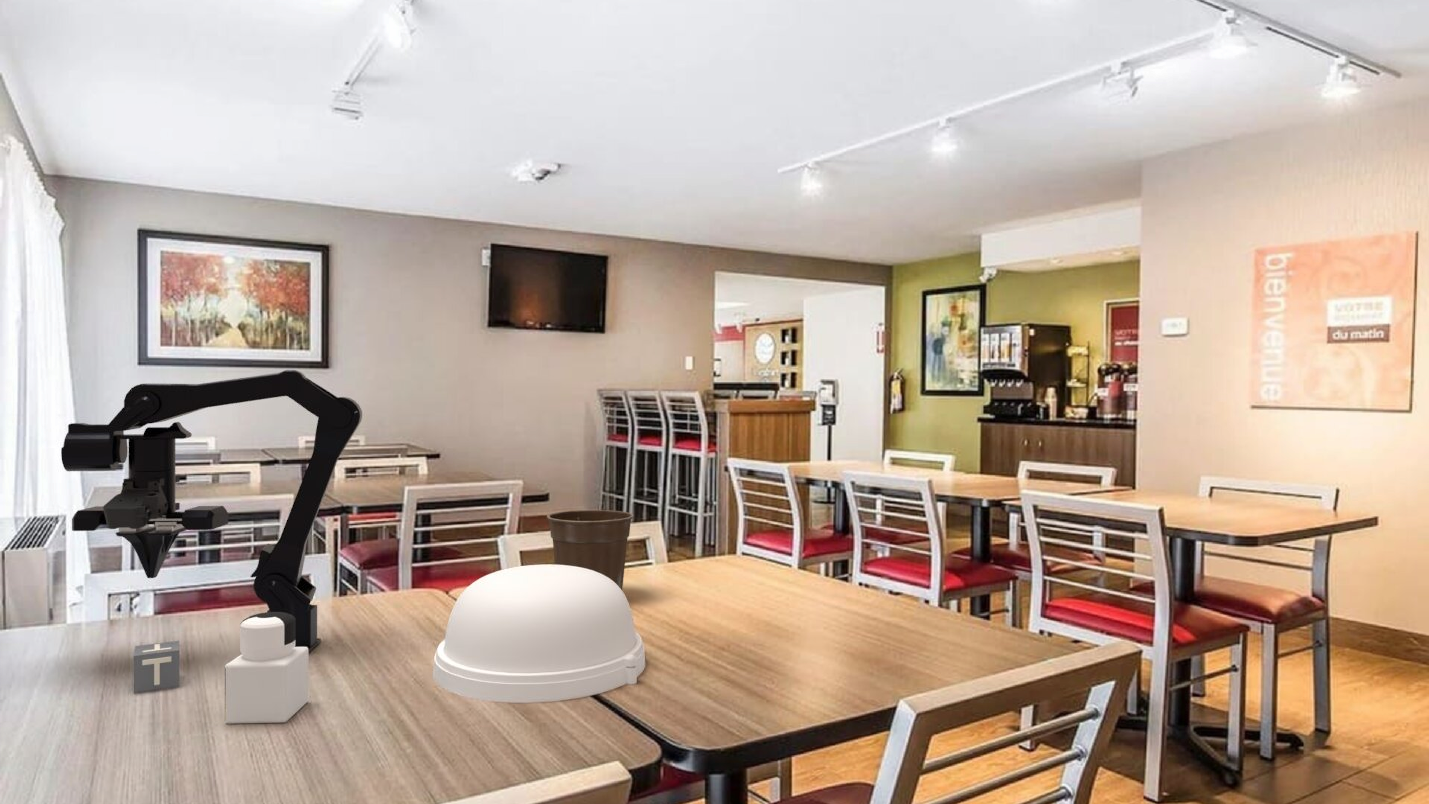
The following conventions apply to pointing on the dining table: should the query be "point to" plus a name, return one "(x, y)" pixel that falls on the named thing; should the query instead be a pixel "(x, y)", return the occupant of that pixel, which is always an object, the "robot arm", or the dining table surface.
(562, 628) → the dome cover
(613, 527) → the plant pot
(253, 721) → the medicine bottle
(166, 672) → the lettered cube
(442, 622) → the dining table surface
